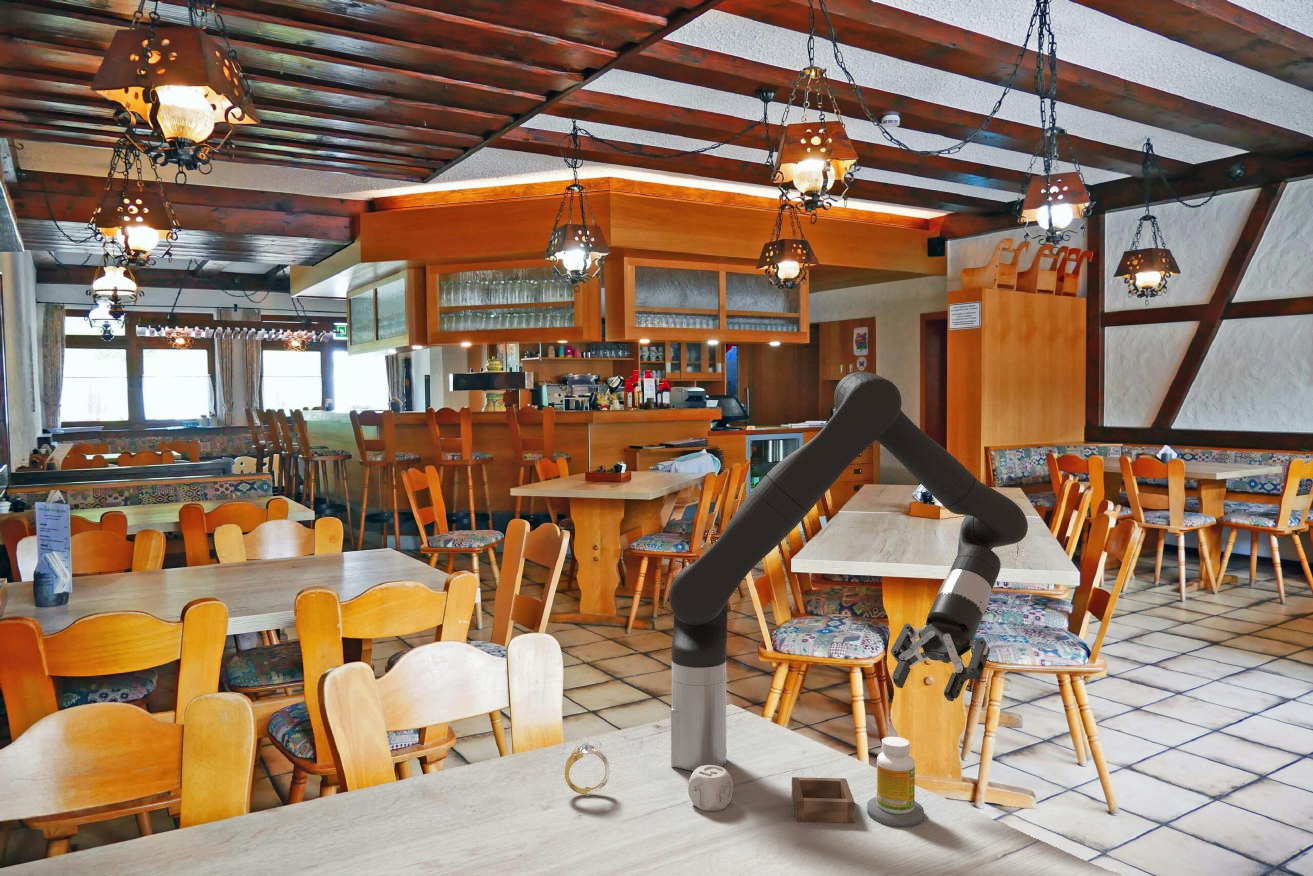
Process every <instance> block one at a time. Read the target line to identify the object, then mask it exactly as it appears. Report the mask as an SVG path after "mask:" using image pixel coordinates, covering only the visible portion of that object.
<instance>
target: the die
mask: <svg viewBox="0 0 1313 876" xmlns="http://www.w3.org/2000/svg"><path fill="white" fill-rule="evenodd" d="M687 786H688V787H687V792H688V795H689V798H690V799H689V800H691V803H692V804H693V805H694V806H695V807H696V808H698V809H699V810H702V811H705V812H706V811H707V812H716V811H721V810H723V809H725V808H726V807H727V806H728V805H729V804H730V803H731V802H730V801H731V799H732V796H733V793H734V792H733V791H734V781H733V778H732V776H731V774H730V773H729V771H727V769H725V768H724V767H723V766H722V767H720V766H716V765H704V766H700V767H698V768H696V769H695V770H694V771H692V774H691V775H690V777H689V781H688V785H687Z"/></svg>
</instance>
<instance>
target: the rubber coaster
mask: <svg viewBox="0 0 1313 876" xmlns="http://www.w3.org/2000/svg"><path fill="white" fill-rule="evenodd" d="M866 805H867V807H866V808H867V809H866V811H867V812H866V813H867V815H868V816H869V818H871V819H872V820H873V821H876V822H877V823H880V824H882V825H886V826H890V827H898V828H908V827H914V826H917V825H919V824H921V823H922V822H923V821H924V819H925V817H924V816H925V810H924V807H923V806H922V805H921V804H920V803H919V802H917V801H915V805H914V809H913V811H911V812H909V813H906V814H894V813H889V812H886V811H884V810H882V809H881V808H879V807H878V805H877V796H875V797H873V798H870V799H869V800H868V802H867V803H866Z"/></svg>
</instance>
